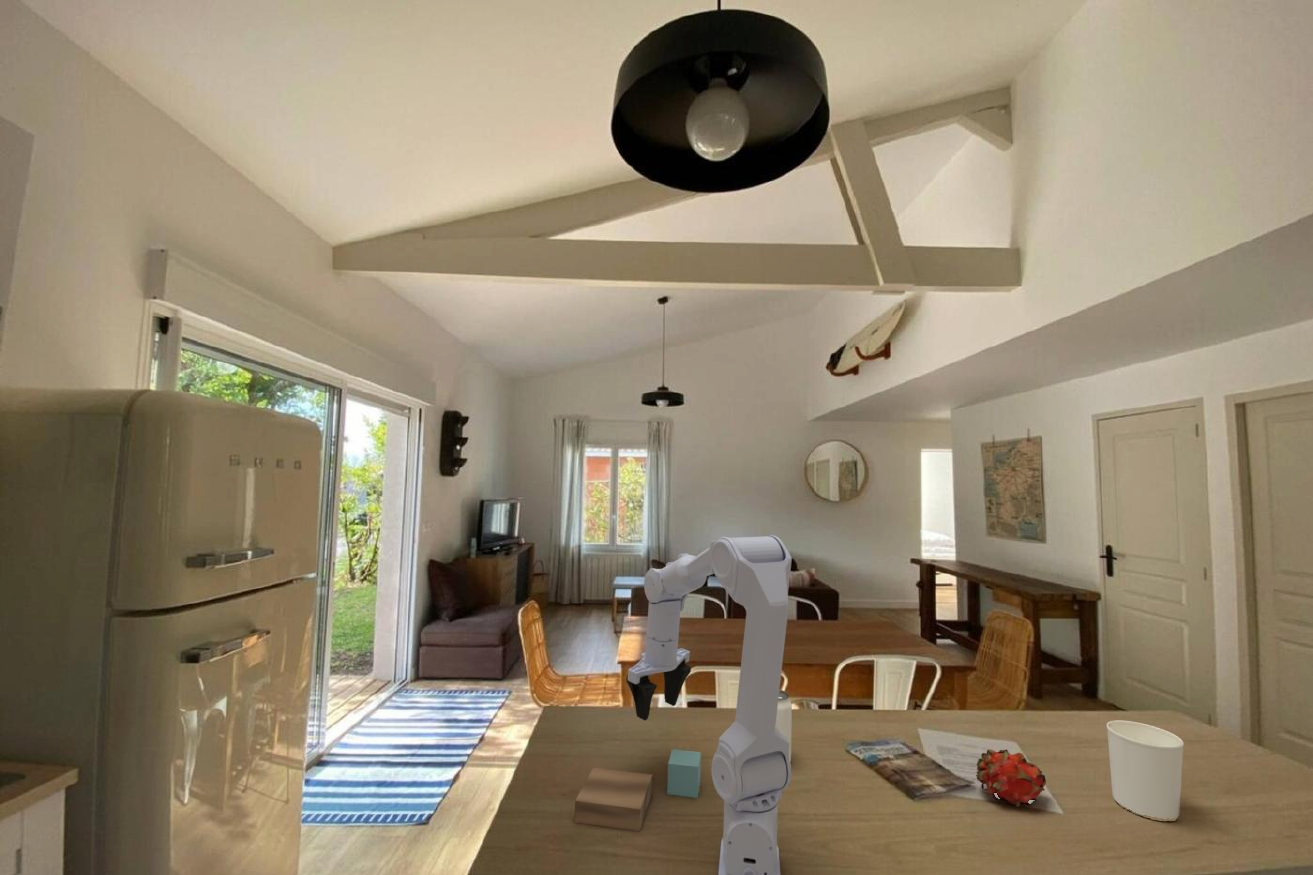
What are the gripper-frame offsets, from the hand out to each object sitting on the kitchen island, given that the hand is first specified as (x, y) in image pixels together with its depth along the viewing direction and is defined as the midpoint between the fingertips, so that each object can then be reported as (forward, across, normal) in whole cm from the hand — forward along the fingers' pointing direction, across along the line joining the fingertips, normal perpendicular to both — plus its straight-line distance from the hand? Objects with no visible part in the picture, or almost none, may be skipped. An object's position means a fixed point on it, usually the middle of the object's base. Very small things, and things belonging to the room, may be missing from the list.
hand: (656, 710), depth 104 cm
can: (+10, -18, +14) cm, 25 cm away
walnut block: (+10, +14, +4) cm, 17 cm away
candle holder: (+6, -47, +66) cm, 82 cm away
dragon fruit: (+7, -34, +50) cm, 61 cm away
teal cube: (+10, +1, +8) cm, 13 cm away
